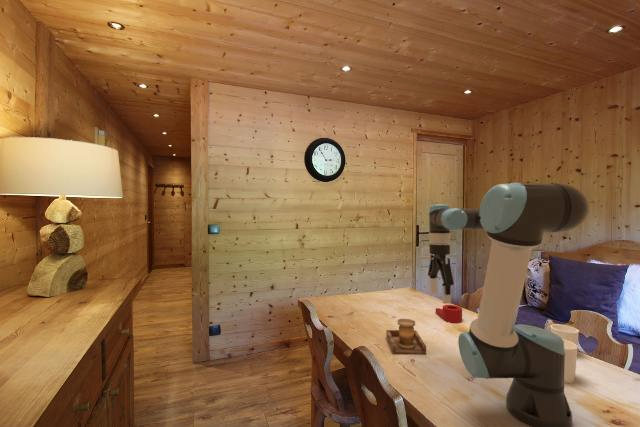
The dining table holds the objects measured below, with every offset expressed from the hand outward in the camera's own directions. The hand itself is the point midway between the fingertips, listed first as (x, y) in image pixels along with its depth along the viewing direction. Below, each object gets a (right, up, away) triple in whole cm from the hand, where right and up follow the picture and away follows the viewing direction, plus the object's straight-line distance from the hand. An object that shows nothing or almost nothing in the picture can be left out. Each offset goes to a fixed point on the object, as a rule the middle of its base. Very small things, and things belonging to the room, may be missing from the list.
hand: (440, 298), depth 124 cm
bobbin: (-11, -22, +8) cm, 25 cm away
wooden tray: (-11, -23, +10) cm, 27 cm away
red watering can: (+21, -22, +45) cm, 55 cm away
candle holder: (+35, -23, -15) cm, 45 cm away
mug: (+51, -23, +3) cm, 56 cm away
